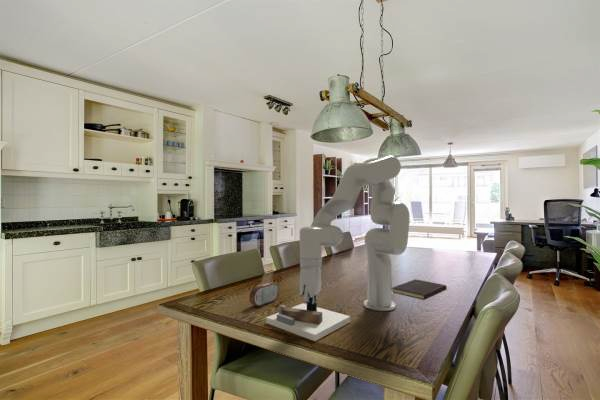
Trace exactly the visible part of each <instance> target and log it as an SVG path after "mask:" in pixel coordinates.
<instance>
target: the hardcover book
mask: <svg viewBox="0 0 600 400" xmlns="http://www.w3.org/2000/svg"><path fill="white" fill-rule="evenodd" d="M447 289H448V288H447V285H446V284H441V283H438V282H437V283H436V282H432V281H427V280H421V279H417V278H416V279H412V280H410V281H407V282H405V283H402V284H398V285H396V286H393V287H392V292H393V293H397V294H401V295H405V296H410V297H414V298H418V299H421V300H425V299H428V298H431V297H432V296H434V295H437V294H438V293H441V292H443V291H445V290H447Z"/></svg>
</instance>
